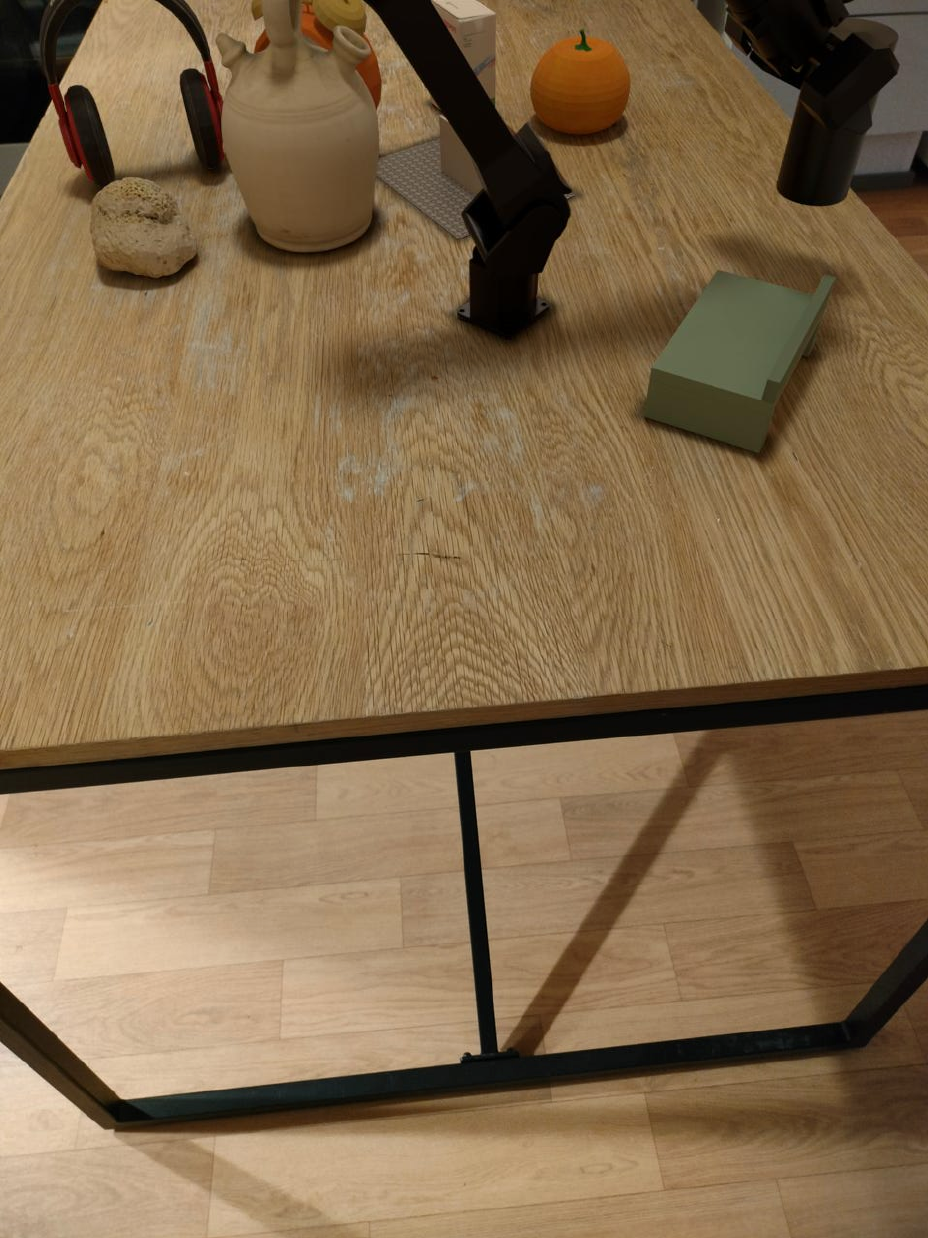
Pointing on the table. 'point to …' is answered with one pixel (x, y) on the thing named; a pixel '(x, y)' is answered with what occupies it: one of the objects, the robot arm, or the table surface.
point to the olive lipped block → (734, 358)
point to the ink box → (472, 37)
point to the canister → (825, 140)
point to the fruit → (580, 85)
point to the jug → (301, 133)
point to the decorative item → (140, 229)
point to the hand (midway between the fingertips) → (847, 112)
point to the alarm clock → (331, 33)
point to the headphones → (82, 114)
